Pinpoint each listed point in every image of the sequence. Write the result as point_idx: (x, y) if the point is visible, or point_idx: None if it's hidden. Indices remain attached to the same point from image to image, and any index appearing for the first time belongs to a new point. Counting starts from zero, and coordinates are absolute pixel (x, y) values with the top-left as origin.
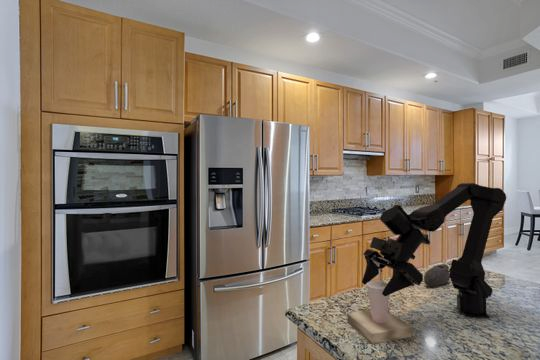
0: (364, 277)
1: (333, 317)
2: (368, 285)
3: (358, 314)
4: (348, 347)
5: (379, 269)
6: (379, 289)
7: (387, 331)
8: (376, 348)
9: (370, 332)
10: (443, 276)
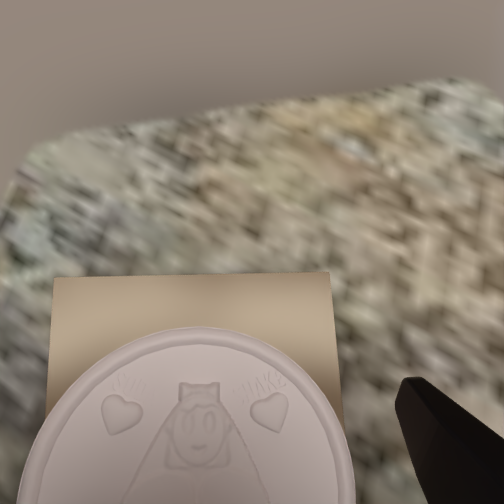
0: (452, 422)
1: (376, 235)
2: (209, 339)
3: (298, 332)
4: (86, 165)
5: None
6: (49, 415)
7: (47, 390)
8: (28, 286)
9: (71, 277)
10: None
